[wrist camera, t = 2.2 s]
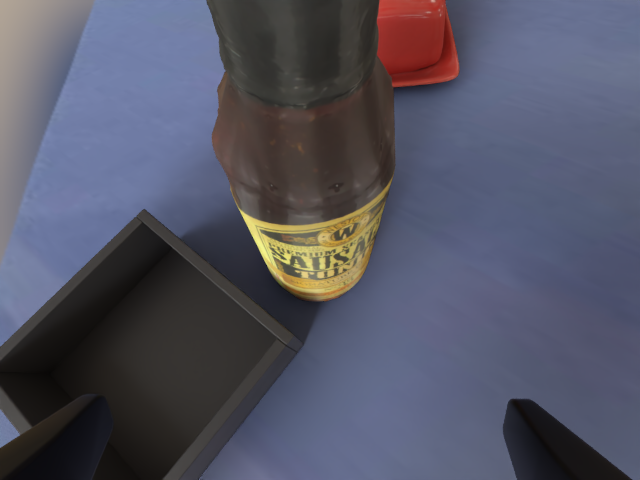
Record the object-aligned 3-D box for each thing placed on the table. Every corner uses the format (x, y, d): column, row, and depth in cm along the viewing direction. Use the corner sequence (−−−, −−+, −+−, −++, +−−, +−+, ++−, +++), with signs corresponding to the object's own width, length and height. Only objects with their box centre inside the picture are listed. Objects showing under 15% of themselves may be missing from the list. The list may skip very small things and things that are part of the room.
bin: (166, 519, 19) (115, 559, 15) (42, 375, 22) (-29, 373, 18) (304, 344, 22) (294, 335, 17) (177, 237, 25) (143, 208, 21)
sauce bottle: (292, 322, 22) (37, 22, 4) (258, 235, 24) (-8, -224, 6) (389, 279, 23) (587, -163, 4) (347, 198, 25) (359, -322, 7)
